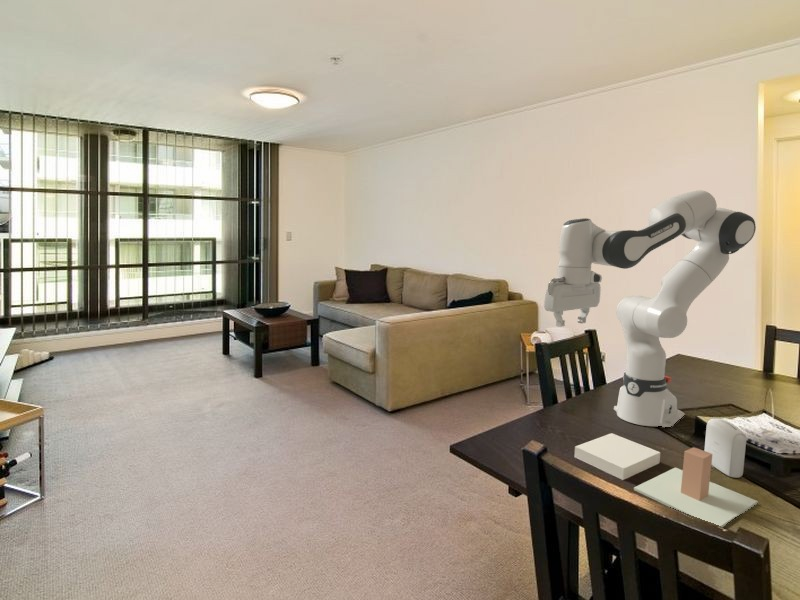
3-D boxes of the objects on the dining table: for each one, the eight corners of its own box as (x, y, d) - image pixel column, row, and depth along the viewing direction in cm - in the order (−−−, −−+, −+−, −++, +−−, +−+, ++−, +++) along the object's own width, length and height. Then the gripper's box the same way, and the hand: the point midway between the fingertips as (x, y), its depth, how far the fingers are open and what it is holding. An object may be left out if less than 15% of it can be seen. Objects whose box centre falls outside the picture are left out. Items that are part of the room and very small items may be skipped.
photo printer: (700, 458, 127) (704, 414, 125) (716, 458, 127) (720, 414, 125) (728, 478, 117) (733, 430, 115) (745, 478, 117) (751, 430, 115)
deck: (610, 443, 136) (611, 433, 136) (659, 463, 125) (660, 452, 124) (574, 457, 128) (574, 446, 127) (622, 480, 116) (623, 468, 116)
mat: (675, 469, 121) (675, 467, 121) (757, 503, 106) (757, 501, 106) (633, 489, 112) (633, 487, 112) (717, 530, 97) (718, 527, 97)
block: (689, 487, 112) (693, 447, 110) (708, 495, 108) (712, 453, 107) (680, 492, 110) (684, 451, 108) (699, 500, 106) (703, 458, 105)
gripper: (558, 279, 127) (555, 330, 129) (605, 275, 138) (602, 323, 140) (539, 277, 133) (537, 326, 135) (586, 274, 143) (584, 319, 145)
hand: (571, 324), depth 137 cm, fingers open, 8 cm apart
